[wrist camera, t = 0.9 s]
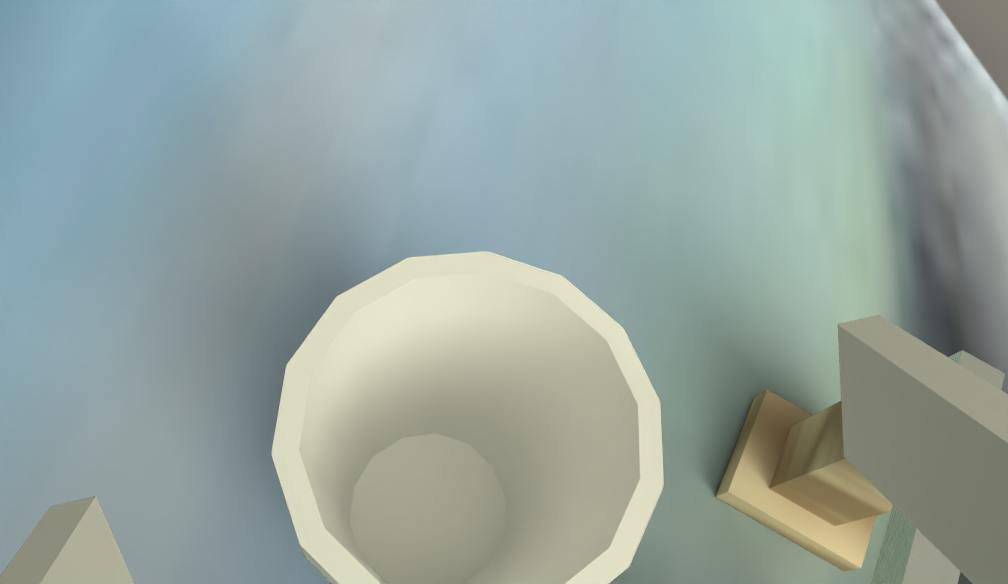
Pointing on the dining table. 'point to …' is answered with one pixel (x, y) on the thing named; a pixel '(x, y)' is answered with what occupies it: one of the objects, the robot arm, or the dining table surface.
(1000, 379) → the steel bar
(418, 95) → the dining table surface
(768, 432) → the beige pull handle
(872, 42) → the dining table surface
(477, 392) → the foam cup
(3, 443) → the dining table surface
